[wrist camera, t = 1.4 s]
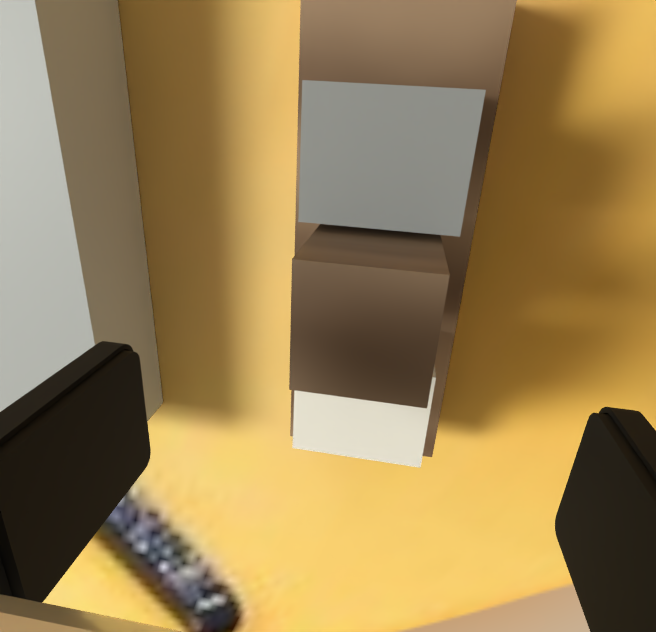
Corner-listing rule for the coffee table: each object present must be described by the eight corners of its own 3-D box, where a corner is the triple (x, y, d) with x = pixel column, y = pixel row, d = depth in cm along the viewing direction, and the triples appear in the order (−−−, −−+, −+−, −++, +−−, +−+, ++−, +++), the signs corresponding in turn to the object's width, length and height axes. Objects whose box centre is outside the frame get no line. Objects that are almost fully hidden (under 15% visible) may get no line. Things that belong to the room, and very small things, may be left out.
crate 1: (326, 86, 17) (302, 80, 13) (468, 94, 16) (485, 89, 12) (320, 199, 18) (298, 221, 15) (450, 210, 18) (459, 236, 14)
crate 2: (315, 315, 20) (295, 359, 17) (431, 329, 20) (436, 377, 16) (311, 392, 22) (292, 447, 18) (418, 407, 21) (420, 467, 18)
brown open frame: (319, -1, 18) (225, -117, 9) (500, 4, 18) (604, -118, 8) (304, 397, 26) (245, 557, 17) (429, 415, 25) (440, 593, 16)
